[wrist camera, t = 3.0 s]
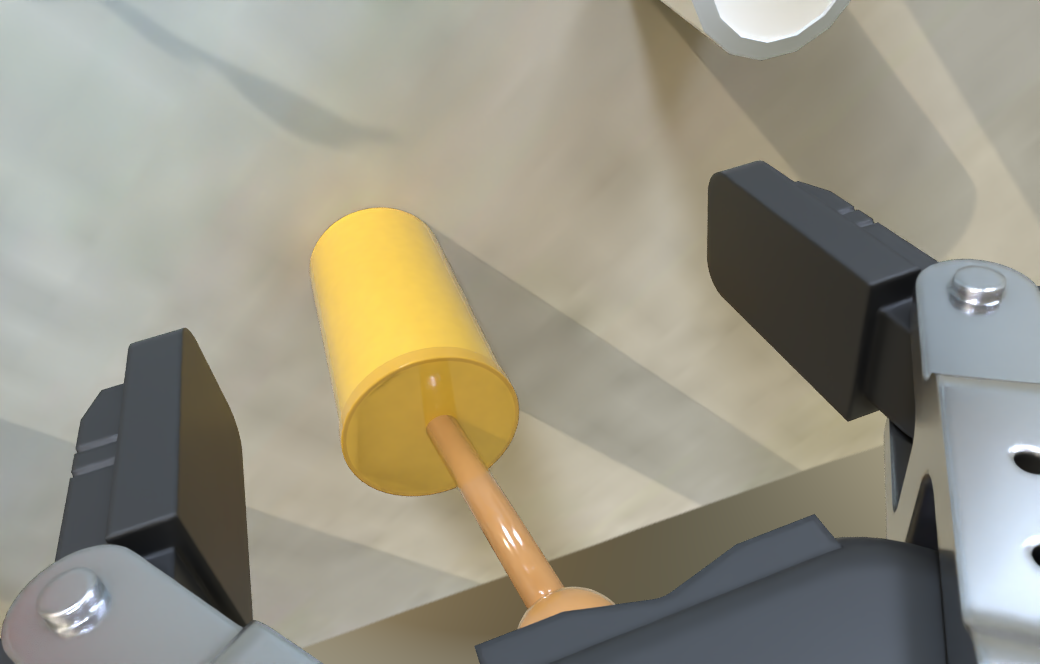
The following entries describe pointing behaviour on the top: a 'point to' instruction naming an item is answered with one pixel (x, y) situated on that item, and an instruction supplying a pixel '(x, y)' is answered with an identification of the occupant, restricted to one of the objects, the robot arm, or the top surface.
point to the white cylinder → (759, 23)
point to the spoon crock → (423, 386)
